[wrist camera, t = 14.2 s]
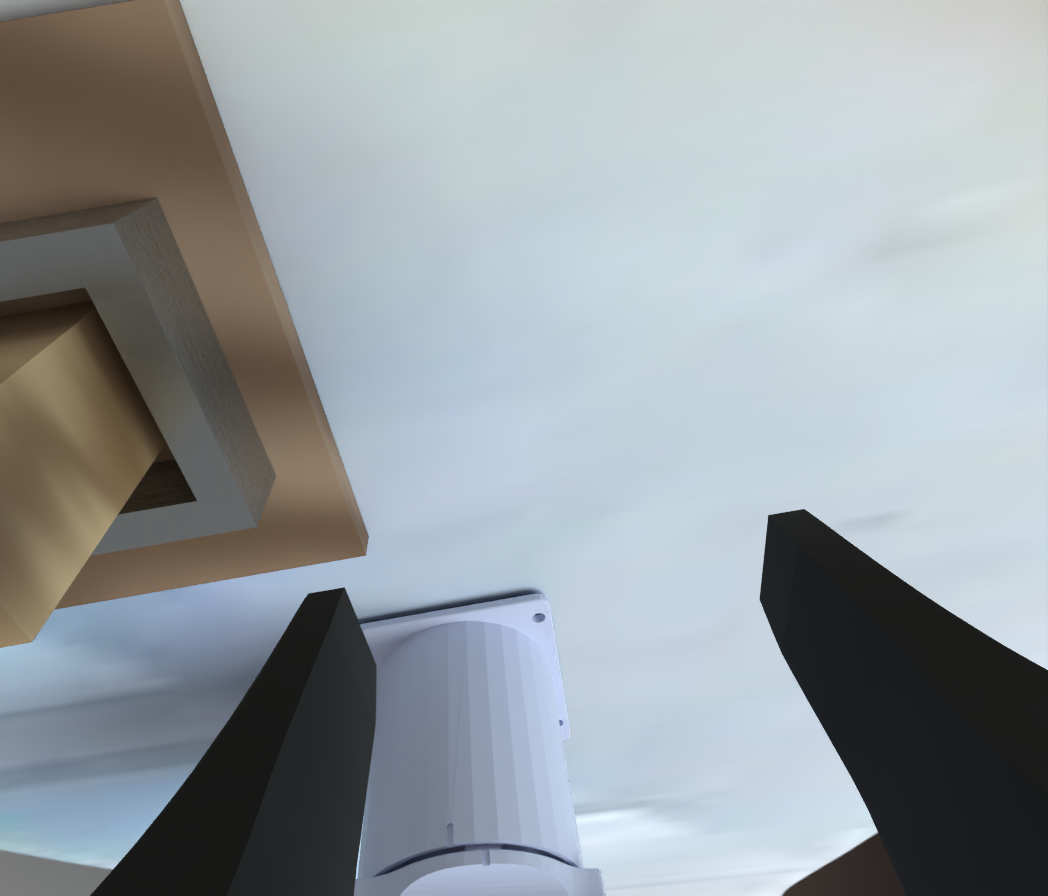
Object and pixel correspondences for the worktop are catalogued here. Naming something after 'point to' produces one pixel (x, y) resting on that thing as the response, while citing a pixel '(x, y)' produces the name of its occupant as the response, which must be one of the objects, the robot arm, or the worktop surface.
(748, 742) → the worktop surface
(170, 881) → the robot arm
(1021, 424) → the worktop surface
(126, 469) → the peg
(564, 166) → the worktop surface
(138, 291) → the socket board
